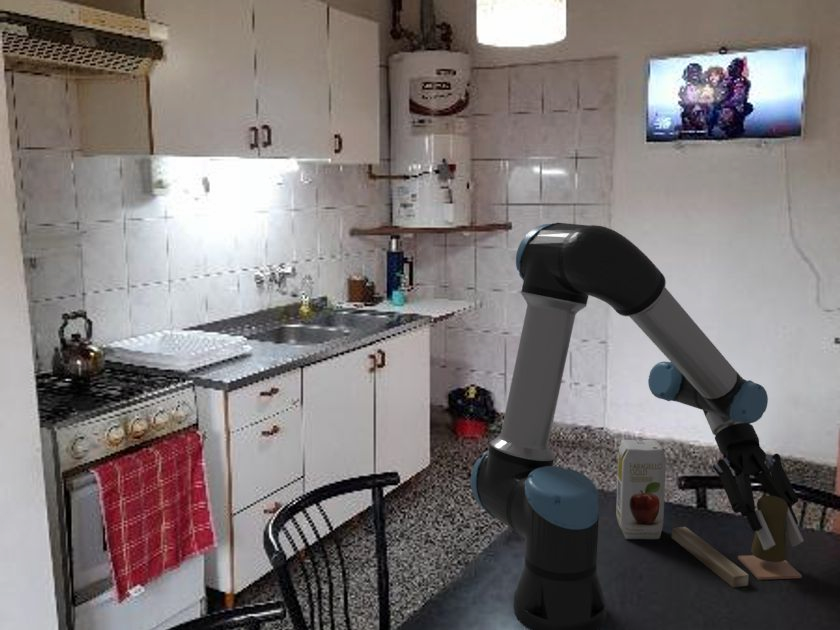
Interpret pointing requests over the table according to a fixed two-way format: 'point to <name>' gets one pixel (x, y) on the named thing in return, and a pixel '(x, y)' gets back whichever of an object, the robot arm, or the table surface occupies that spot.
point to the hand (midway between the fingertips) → (783, 545)
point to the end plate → (769, 568)
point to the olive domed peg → (772, 529)
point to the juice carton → (641, 489)
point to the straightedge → (710, 557)
